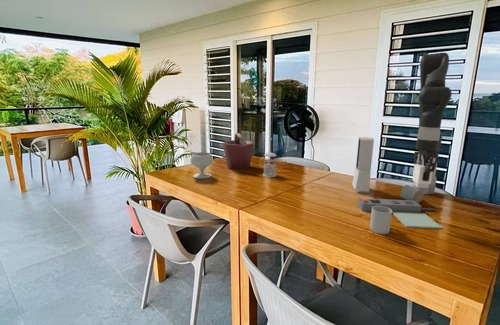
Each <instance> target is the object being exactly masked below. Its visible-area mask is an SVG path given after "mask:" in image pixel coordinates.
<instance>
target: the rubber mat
mask: <svg viewBox="0 0 500 325" xmlns="http://www.w3.org/2000/svg"><path fill="white" fill-rule="evenodd" d="M392 216H394V217H395V218H397V220H398V221H399V222H401V224H402V225H403V226H404V227H405V228H416V229H417V228H420V229H443V227H442V226H441V225H440V224H439V223H437V222H436V221H435V220H434V219H433V218H431V217H430V216H428V215H427V214H426V213H425V212H424V213H423V212H421V213H404V212H392Z"/></svg>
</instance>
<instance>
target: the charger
mask: <svg viewBox="0 0 500 325" xmlns="http://www.w3.org/2000/svg"><path fill="white" fill-rule="evenodd" d="M426 169H427V166H426ZM431 169H432V167H431ZM423 172H424V167H423V166H422V164H415V165H414V167H413V172H412V173H413V174H412V181H413V186H414V185H415V186H417V187H421V188H428V186H429V184H431V180H432V174H433V172H430V176H429V181H423V180H422V178H423Z"/></svg>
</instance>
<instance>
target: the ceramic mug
mask: <svg viewBox="0 0 500 325" xmlns="http://www.w3.org/2000/svg"><path fill="white" fill-rule="evenodd" d="M399 196H400V198H401V200H414V201H416V202H417V203H418V204H420V202H421V201H423V200H424V194H423V192H422V191H421V190H419V189H417V188H414V186H412V185H409V184H405V185H404V186H403V187H402V188H401V189H400V193H399Z"/></svg>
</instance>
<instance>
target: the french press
mask: <svg viewBox="0 0 500 325" xmlns="http://www.w3.org/2000/svg"><path fill="white" fill-rule="evenodd" d="M268 140H269V141H270V142H269V145H270V146H269V147H270V148H269V149H270V150H269V152H266V153H265V154H264V156H262V157H260V160H259V165H260V167H261V168H263V173H262V177H267V178H274V177H277V176H278V175H277V173H276V172H277V167H276V166H277V162H276V160H275V159H265V158H267V157H269V158H271V157H277V154H276V153H275V152H274V153H273V152H272V150H271V149H272V148H271V146H272V145H271V142H272V140H273V138H271V137H269V139H268ZM263 159H264V163H263V164H264V166H262V164H261V163H262V162H261V161H262V160H263Z"/></svg>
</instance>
